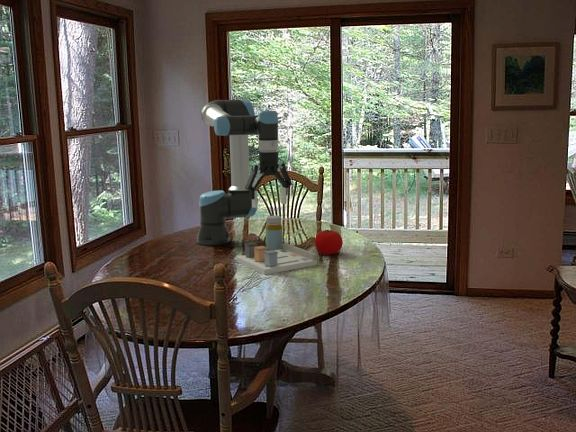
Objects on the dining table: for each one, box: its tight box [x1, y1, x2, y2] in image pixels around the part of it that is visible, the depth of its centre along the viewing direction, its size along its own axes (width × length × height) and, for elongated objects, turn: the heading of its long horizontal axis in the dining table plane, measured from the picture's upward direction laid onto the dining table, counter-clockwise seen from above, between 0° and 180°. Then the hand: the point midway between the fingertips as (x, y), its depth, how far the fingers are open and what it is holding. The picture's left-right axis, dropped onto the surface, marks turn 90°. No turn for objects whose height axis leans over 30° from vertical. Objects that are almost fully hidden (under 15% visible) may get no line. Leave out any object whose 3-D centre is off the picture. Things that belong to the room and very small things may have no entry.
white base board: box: [235, 242, 318, 276], centre depth 240 cm, size 23×24×4 cm
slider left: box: [243, 241, 258, 257], centre depth 243 cm, size 4×4×5 cm
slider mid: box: [254, 245, 267, 262], centre depth 236 cm, size 4×4×5 cm
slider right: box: [264, 250, 278, 266], centre depth 230 cm, size 4×4×5 cm
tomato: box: [314, 229, 343, 256], centre depth 253 cm, size 12×12×10 cm
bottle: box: [265, 214, 283, 251], centre depth 260 cm, size 7×7×15 cm
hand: (269, 205), depth 234 cm, fingers open, 13 cm apart
